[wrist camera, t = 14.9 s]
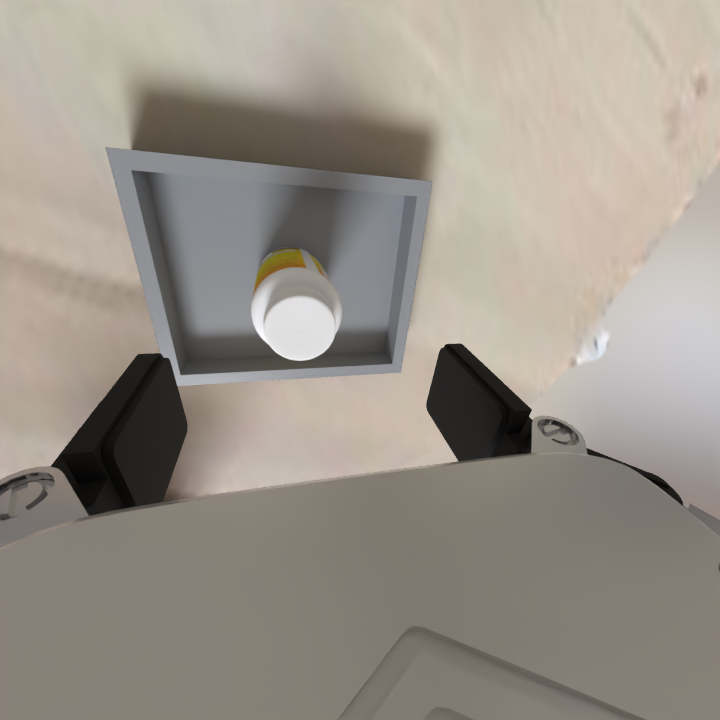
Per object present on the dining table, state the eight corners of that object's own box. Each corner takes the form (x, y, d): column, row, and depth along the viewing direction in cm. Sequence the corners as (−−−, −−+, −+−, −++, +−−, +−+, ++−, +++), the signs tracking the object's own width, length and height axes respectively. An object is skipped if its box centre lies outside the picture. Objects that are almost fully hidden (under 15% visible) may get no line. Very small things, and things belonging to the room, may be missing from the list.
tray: (130, 153, 20) (105, 147, 17) (413, 182, 25) (432, 181, 22) (180, 365, 28) (169, 386, 25) (389, 355, 32) (400, 372, 29)
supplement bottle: (246, 295, 25) (230, 353, 16) (273, 231, 23) (272, 258, 15) (307, 322, 27) (322, 385, 19) (337, 266, 26) (368, 307, 17)
